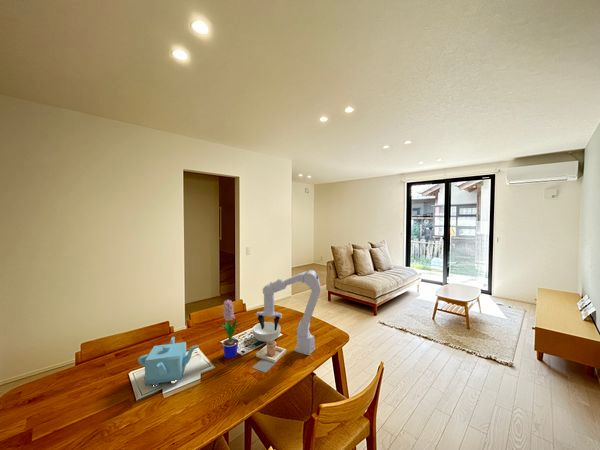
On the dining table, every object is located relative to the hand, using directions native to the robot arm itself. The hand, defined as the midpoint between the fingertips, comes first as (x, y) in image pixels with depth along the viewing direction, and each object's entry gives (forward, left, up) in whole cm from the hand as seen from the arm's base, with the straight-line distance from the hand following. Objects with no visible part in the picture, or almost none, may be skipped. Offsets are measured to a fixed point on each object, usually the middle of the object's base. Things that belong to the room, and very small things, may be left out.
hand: (269, 329), depth 134 cm
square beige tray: (-6, +7, -10) cm, 13 cm away
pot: (-6, +7, -9) cm, 13 cm away
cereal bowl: (+6, -6, -10) cm, 13 cm away
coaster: (-8, +17, -10) cm, 21 cm away
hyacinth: (+12, +17, -10) cm, 23 cm away
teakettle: (+25, +43, -10) cm, 51 cm away
